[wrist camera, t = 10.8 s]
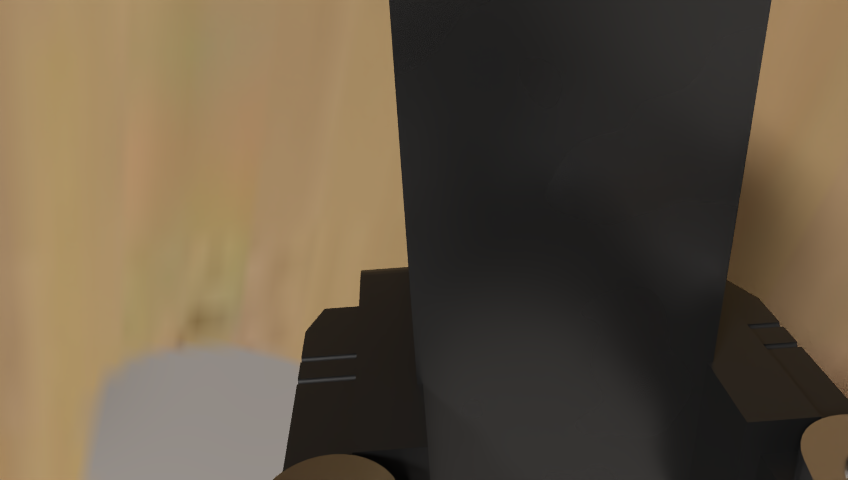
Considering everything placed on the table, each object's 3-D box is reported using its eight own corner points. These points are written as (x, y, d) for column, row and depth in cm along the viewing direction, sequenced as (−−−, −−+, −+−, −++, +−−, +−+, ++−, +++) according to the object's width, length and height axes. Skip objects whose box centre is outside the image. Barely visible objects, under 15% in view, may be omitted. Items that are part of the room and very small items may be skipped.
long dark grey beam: (780, -213, 9) (1061, -265, 5) (669, 543, 14) (762, 764, 11) (224, -180, 8) (111, -209, 5) (341, 570, 14) (328, 802, 11)
